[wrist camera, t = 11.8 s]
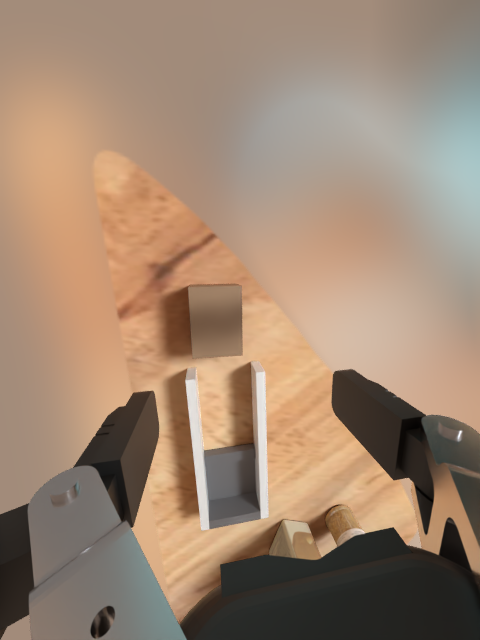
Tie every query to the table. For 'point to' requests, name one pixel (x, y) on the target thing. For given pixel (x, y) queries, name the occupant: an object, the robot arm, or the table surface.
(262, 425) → the trap channel
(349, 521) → the sprinkles bottle
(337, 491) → the table surface
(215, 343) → the walnut block
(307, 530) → the skincare box
